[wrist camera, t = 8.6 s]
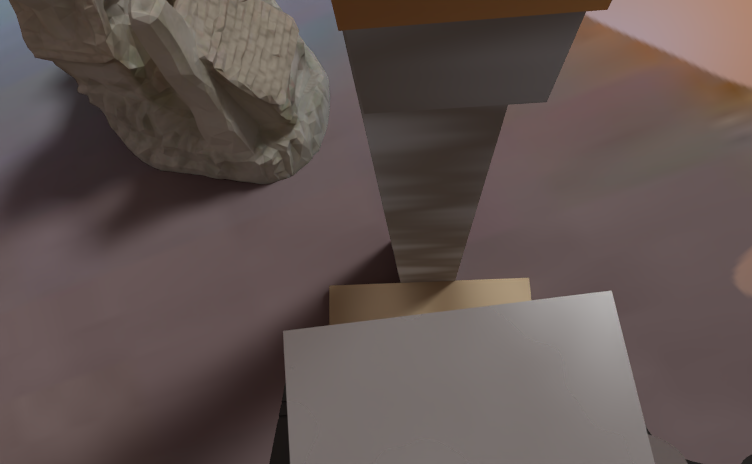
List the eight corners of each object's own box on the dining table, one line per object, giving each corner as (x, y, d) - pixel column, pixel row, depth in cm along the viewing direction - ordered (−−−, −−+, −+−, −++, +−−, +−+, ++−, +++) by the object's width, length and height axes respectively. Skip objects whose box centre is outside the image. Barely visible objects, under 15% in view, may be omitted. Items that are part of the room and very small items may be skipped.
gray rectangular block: (524, 496, 16) (714, 700, 6) (381, 510, 16) (304, 733, 6) (498, 349, 17) (611, 290, 7) (366, 365, 18) (283, 330, 7)
